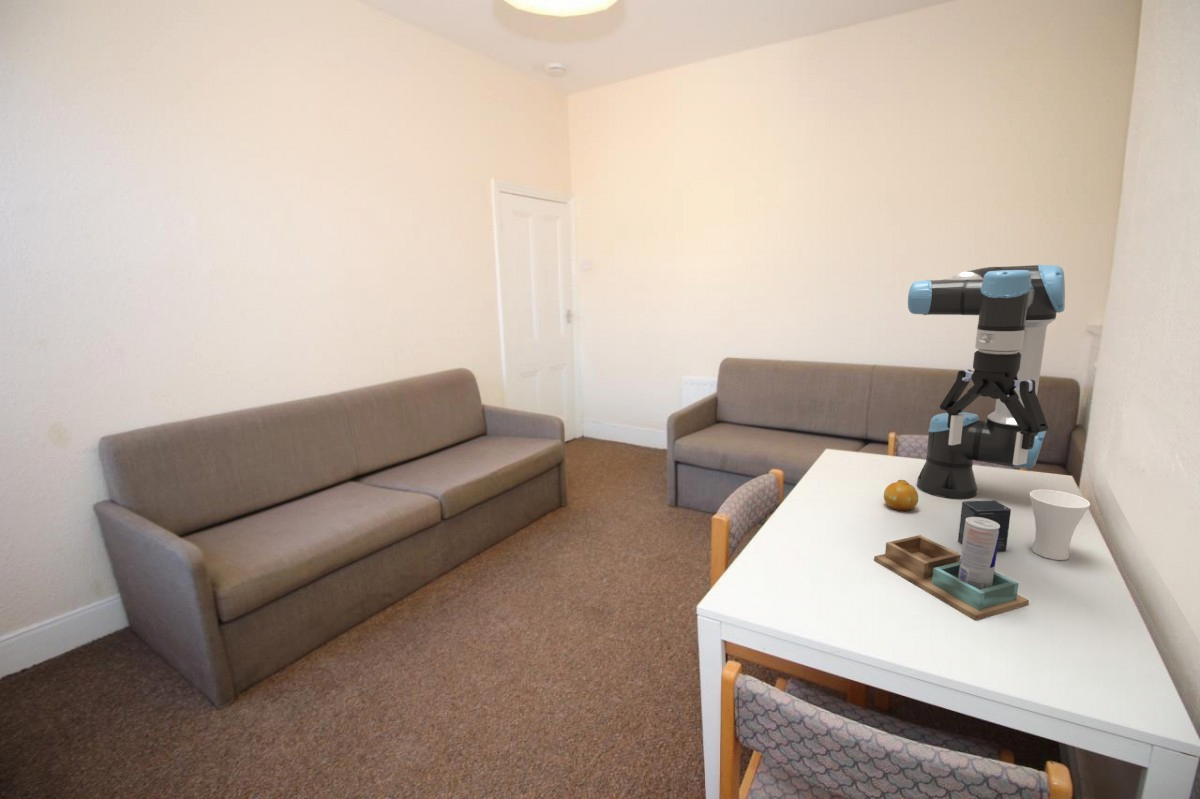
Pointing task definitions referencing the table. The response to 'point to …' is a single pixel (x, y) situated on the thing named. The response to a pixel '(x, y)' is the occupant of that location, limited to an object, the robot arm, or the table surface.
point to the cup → (1055, 521)
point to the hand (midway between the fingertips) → (985, 453)
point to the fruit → (901, 495)
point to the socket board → (948, 577)
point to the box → (988, 511)
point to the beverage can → (979, 552)
